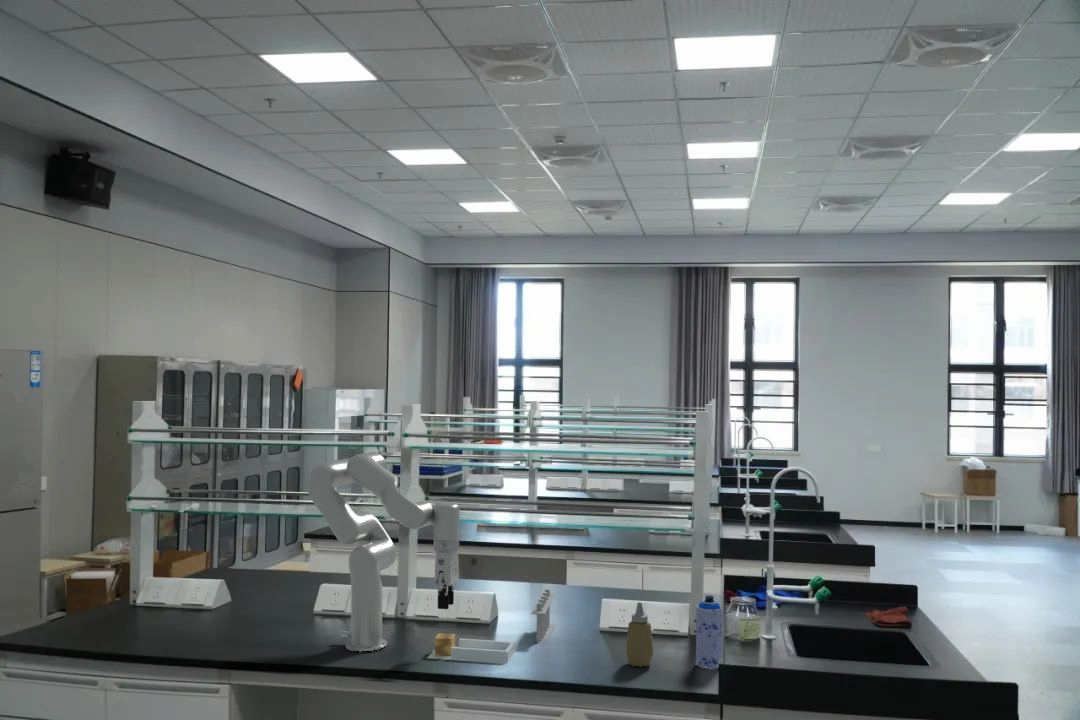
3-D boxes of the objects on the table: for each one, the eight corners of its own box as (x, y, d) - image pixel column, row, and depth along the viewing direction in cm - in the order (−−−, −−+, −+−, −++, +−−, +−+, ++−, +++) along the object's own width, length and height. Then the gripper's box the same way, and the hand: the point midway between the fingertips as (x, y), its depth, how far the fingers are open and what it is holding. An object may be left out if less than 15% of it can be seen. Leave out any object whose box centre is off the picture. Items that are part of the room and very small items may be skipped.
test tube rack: (541, 625, 295) (542, 586, 295) (554, 626, 294) (555, 587, 295) (530, 648, 270) (530, 605, 271) (544, 649, 270) (544, 606, 270)
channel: (426, 663, 256) (426, 647, 256) (438, 650, 267) (439, 635, 268) (506, 669, 251) (506, 653, 251) (515, 655, 263) (515, 640, 263)
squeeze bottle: (651, 660, 260) (651, 599, 261) (655, 669, 252) (655, 606, 253) (623, 660, 260) (624, 599, 260) (627, 669, 252) (627, 606, 252)
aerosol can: (719, 660, 260) (719, 593, 261) (725, 669, 253) (725, 599, 253) (692, 660, 260) (693, 593, 260) (698, 669, 252) (698, 599, 253)
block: (434, 655, 258) (435, 638, 258) (438, 650, 263) (438, 633, 263) (451, 656, 258) (451, 638, 258) (454, 650, 263) (455, 633, 263)
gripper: (450, 551, 252) (449, 614, 252) (466, 540, 269) (465, 600, 269) (425, 549, 254) (424, 613, 253) (442, 539, 270) (441, 598, 270)
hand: (445, 605), depth 261 cm, fingers open, 4 cm apart
